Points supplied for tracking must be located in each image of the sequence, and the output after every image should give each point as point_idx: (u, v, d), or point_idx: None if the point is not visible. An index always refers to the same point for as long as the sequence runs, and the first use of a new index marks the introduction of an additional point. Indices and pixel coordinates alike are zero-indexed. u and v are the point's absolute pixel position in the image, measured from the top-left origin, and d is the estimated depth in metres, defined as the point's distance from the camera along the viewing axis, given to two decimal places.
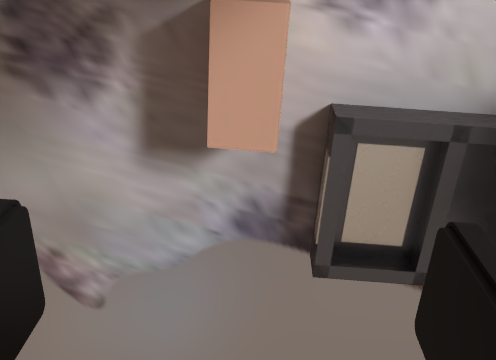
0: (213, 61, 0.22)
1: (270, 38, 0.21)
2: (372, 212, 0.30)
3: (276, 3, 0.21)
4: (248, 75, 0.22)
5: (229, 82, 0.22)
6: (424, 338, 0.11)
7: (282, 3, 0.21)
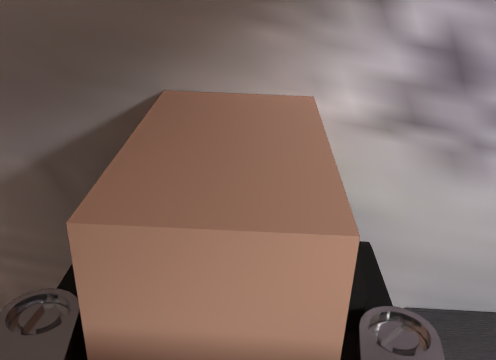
0: None
1: (288, 332, 0.06)
2: None
3: (307, 233, 0.06)
4: None
5: None
6: None
7: (328, 231, 0.06)
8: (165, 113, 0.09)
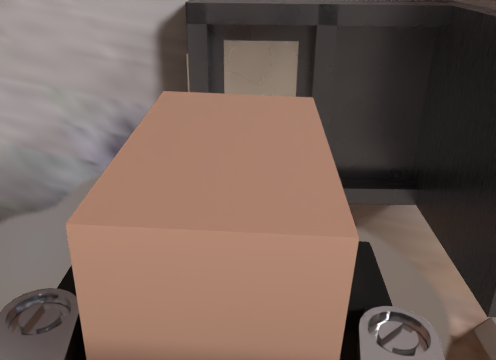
0: None
1: (287, 332, 0.06)
2: None
3: (306, 234, 0.06)
4: None
5: None
6: None
7: (328, 232, 0.06)
8: (164, 114, 0.09)
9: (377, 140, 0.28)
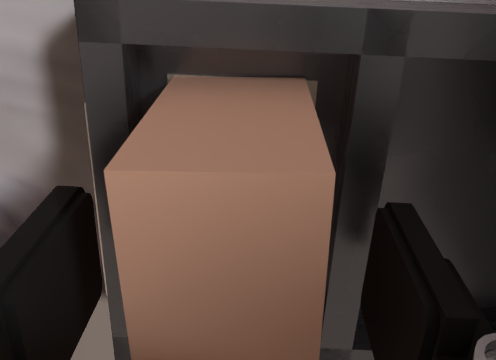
0: (135, 310, 0.08)
1: (282, 258, 0.08)
2: None
3: (294, 173, 0.07)
4: (228, 335, 0.09)
5: (181, 350, 0.09)
6: (366, 312, 0.11)
7: (311, 171, 0.07)
8: (176, 94, 0.11)
9: (454, 262, 0.15)
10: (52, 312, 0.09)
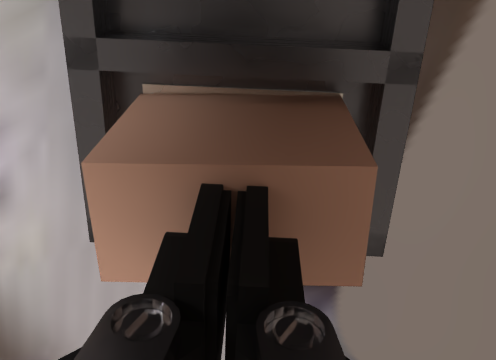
0: None
1: (147, 191, 0.11)
2: None
3: (87, 184, 0.12)
4: None
5: None
6: None
7: None
8: None
9: None
10: (221, 304, 0.09)
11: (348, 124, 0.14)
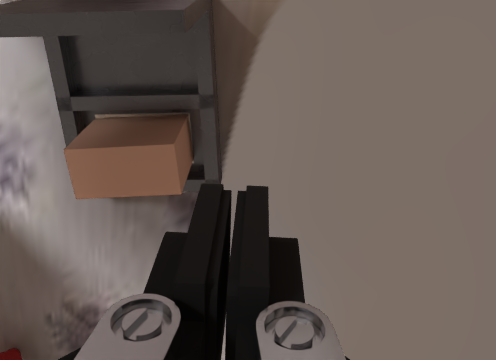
0: (116, 194, 0.31)
1: (89, 159, 0.30)
2: None
3: (66, 158, 0.30)
4: (119, 171, 0.30)
5: (127, 183, 0.30)
6: None
7: (65, 154, 0.30)
8: None
9: (163, 44, 0.32)
10: (221, 304, 0.09)
11: (178, 128, 0.32)
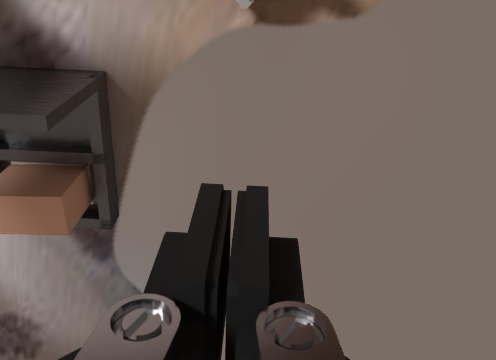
0: (16, 231, 0.38)
1: None
2: None
3: None
4: (18, 214, 0.38)
5: (25, 224, 0.38)
6: None
7: None
8: None
9: None
10: (221, 304, 0.09)
11: (72, 180, 0.40)
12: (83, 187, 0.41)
